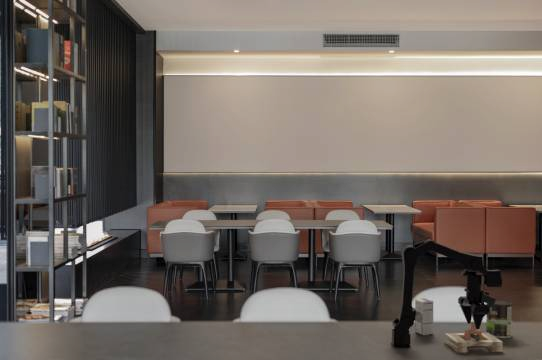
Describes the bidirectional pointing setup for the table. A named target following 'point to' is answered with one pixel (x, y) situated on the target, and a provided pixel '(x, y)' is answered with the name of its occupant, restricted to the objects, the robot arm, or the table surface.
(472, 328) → the tee shaped peg
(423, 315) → the syrup box
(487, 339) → the frame with crossbar
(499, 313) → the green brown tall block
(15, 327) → the table surface
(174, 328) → the table surface
